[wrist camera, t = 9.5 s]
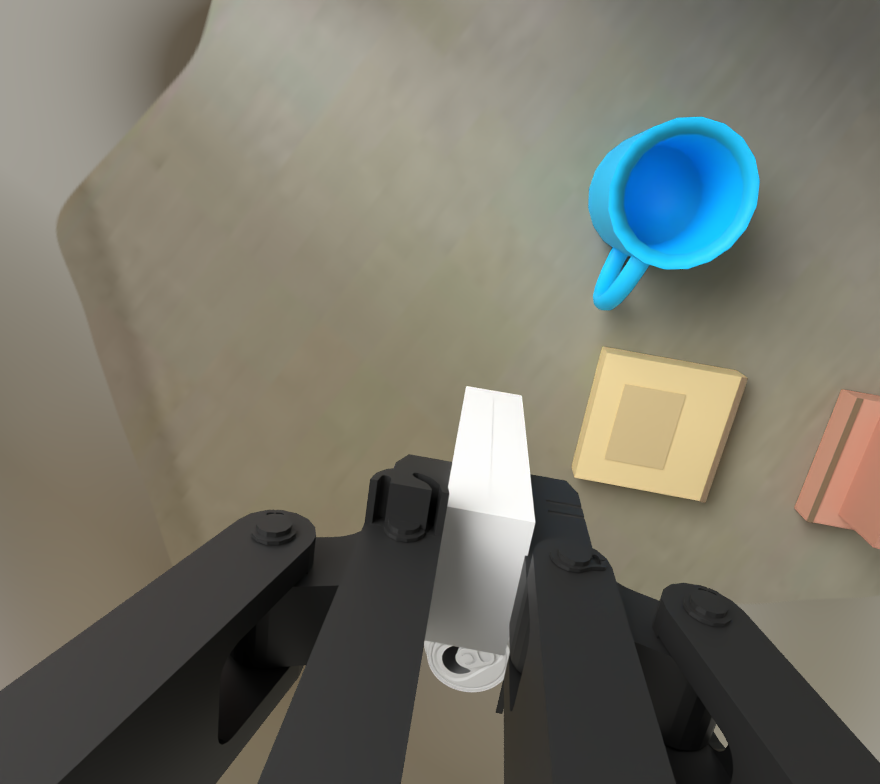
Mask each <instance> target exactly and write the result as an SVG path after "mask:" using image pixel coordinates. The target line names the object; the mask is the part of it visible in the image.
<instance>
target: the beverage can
mask: <svg viewBox="0 0 880 784" xmlns="http://www.w3.org/2000/svg"><path fill="white" fill-rule="evenodd" d="M424 647H425V651H426V655H427V657H428V663H429V666H430V669H431V670H432V672H433V674H434V675H435V676H436V677H437V678H438V679H439V680H440V681H441V682H442V683H444V684H445V685H447V686H449V687H451V688H454V689H456V690H460V691H464V692H479V691H484V690H488V689H490V688H493V687H495V686H496V685H498V684H499V683H500V682H501V681H503V679H504V675H505V670H506V666H507V662H508V658H509V653H510V643H509V638H508V643H507V647H506V651H505V656H503V655H497V654H492V653H487V652H482V651H477V650H472V649H466V648H461V647H456V646H451V645H446V644H441V643H435V642H430V641H424Z"/></svg>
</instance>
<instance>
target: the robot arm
mask: <svg viewBox="0 0 880 784" xmlns="http://www.w3.org/2000/svg"><path fill="white" fill-rule="evenodd" d="M508 638H509V643H510V653H509V658H508V662H507V666H506V670H505V675H504V679H503V683H502V688H501V692H500V697H499V700H498V705H497V709H496V713H500V714H502V712H503V709H504V784H880V763H879V761H878V760H877V759H876V758H875V757H874V756H873V755H872V754H871V752H870V751H869V750H868V749H867V748H866V747H865V746H864V745H863V744H862V743H861V742H860V740H859V739H858V738H857V737H856V736H855V735H854V733H853V732H852V731H851V730H850V729H849V728H848V727H847V726H846V725H845V723H844V722H843V721H842V720H841V719H840V718H839V717H838V716H837V715H836V713H835V712H834V711H833V710H832V709H831V708H830V707H829V706H828V705H827V703H826V702H825V701H824V700H823V699H822V698H821V697H820V696H819V694H818V693H817V692H816V691H815V690H814V689H813V688H812V687H811V686H810V684H809V683H808V682H807V681H806V680H805V679H804V678H803V677H802V676H801V674H800V673H799V672H798V671H797V670H796V669H795V668H794V667H793V665H792V664H791V663H790V662H789V661H788V660H787V659H786V658H785V657H784V655H783V654H782V653H781V652H780V651H779V650H778V649H777V648H776V647H775V645H774V644H773V643H772V642H771V641H770V640H769V639H768V638H767V637H766V635H765V634H764V633H763V632H762V631H761V630H760V629H759V628H758V626H757V625H756V624H755V623H754V622H753V621H752V620H751V619H750V617H749V616H748V615H747V614H746V613H745V612H744V611H743V610H742V609H741V608H739V607H738V606H737V605H736V604H735V603H734V602H733V601H731V600H730V599H728V598H726V597H724V596H723V595H721V594H719V593H718V592H717V591H715V590H712V589H710V588H709V589H707V587H704V586H700V585H693V584H687V583H679V584H671V585H669V586H668V587H666V588H665V589H663V592H662V595H661V598H660V601H658V600H656V599H653V598H650V597H648V596H645V595H643V594H640V593H637V592H635V591H633V590H631V589H628V588H626V587H624V586H622V585H621V584H619V583H617V582H616V579H615V576H614V573H613V569H612V567H611V565H610V564H609V562H608V560H607V559H606V558H605V557H604V556H603V555H601V554H600V553H599V552H598V551H597V550H595V549H593V548H592V545H591V541H590V537H589V534H588V530H587V526H586V522H585V519H584V514H583V511H582V509H581V503H580V499H579V495H578V493H577V492H576V491H575V490H574V489H573V488H572V487H571V486H570V485H569V484H568V483H567V482H566V481H564V480H559V479H553V478H547V477H542V476H536V475H531V474H530V468H529V459H528V450H527V440H526V431H525V422H524V412H523V403H522V396H521V395H515V394H509V393H503V392H498V391H492V390H486V389H480V388H475V387H469V386H466V391H465V396H464V402H463V407H462V413H461V418H460V424H459V429H458V435H457V440H456V446H455V451H454V457H453V462H449V461H443V460H438V459H432V458H427V457H421V456H415V455H410V454H409V455H407V456H406V457H404V458H402V459H401V460H399V461H398V462H396V464H395V467H394V468H392V469H386V470H383V471H380V472H378V473H376V474H375V475H374V476H373V477H372V478H371V479H370V485H369V493H368V501H367V509H366V517H365V523H364V526H363V528H362V531H360V532H358V533H355V534H352V535H347V536H341V537H316V532H315V527H314V525H313V524H312V523H311V522H310V521H309V520H308V519H307V518H305V517H303V516H301V515H299V514H297V513H292V512H287V511H284V510H265V511H261V512H256V513H251V514H249V515H247V516H245V517H243V518H241V519H239V520H237V521H236V522H235V523H233V524H232V525H230V526H229V527H228V528H226V529H225V530H223V531H222V532H221V533H219V534H218V535H216V536H215V537H214V538H212V539H211V540H210V541H208V542H207V543H205V544H204V545H203V546H201V547H200V548H198V549H197V550H196V551H194V552H193V553H191V554H190V555H189V556H187V557H186V558H184V559H183V560H182V561H180V562H179V563H178V564H176V565H175V566H173V567H172V568H171V569H169V570H168V571H166V572H165V573H164V574H162V575H161V576H159V577H158V578H157V579H155V580H154V581H152V582H151V583H150V584H148V585H147V586H146V587H144V588H143V589H141V590H140V591H139V592H137V593H136V594H134V595H133V596H132V597H130V598H129V599H127V600H126V601H125V602H123V603H122V604H120V605H119V606H118V607H116V608H115V609H114V610H112V611H111V612H109V613H108V614H107V615H105V616H104V617H103V618H101V619H100V620H98V621H97V622H96V623H94V624H93V625H91V626H90V627H89V628H87V629H86V630H84V631H83V632H82V633H80V634H79V635H77V636H76V637H75V638H73V639H72V640H70V641H69V642H68V643H66V644H65V645H64V646H62V647H61V648H59V649H58V650H57V651H55V652H54V653H52V654H51V655H50V656H48V657H47V658H46V659H44V660H43V661H41V662H40V663H39V664H37V665H36V666H34V667H33V668H31V669H30V670H29V671H27V672H26V673H25V674H23V675H22V676H20V677H19V678H18V679H16V680H15V681H13V682H12V683H11V684H10V685H8V686H6V687H5V688H4V689H2V690H1V691H0V784H216V783H217V781H218V780H219V779H220V777H221V776H222V775H223V774H224V772H225V771H226V770H227V769H228V767H229V766H230V764H231V763H232V762H233V761H234V760H235V758H236V757H237V756H238V754H239V753H240V752H241V751H242V749H243V748H244V747H245V745H246V744H247V743H248V741H249V740H250V739H251V738H252V736H253V735H254V734H255V733H256V731H257V730H258V729H259V727H260V726H261V724H263V722H264V721H265V720H266V718H267V717H268V716H269V715H270V713H271V712H272V711H273V709H274V708H275V707H276V706H277V704H278V703H279V702H280V700H281V699H282V698H283V697H284V695H285V694H286V693H287V691H288V690H289V689H290V688H291V686H292V685H293V684H294V682H295V681H296V680H297V679H298V677H299V675H300V673H301V671H302V668H303V665H306V667H305V669H304V672H303V674H302V677H301V679H300V681H299V684H298V686H297V689H296V691H295V694H294V696H293V698H292V701H291V703H290V706H289V708H288V711H287V713H286V716H285V718H284V721H283V723H282V725H281V728H280V730H279V733H278V735H277V737H276V740H275V742H274V745H273V747H272V750H271V752H270V754H269V757H268V760H267V762H266V764H265V767H264V769H263V771H262V774H261V777H260V779H259V781H258V784H401V778H402V773H403V767H404V761H405V755H406V749H407V743H408V737H409V731H410V724H411V719H412V712H413V707H414V701H415V694H416V689H417V683H418V677H419V671H420V665H421V659H422V653H423V647H424V641H430V642H435V643H441V644H446V645H451V646H456V647H461V648H466V649H472V650H477V651H482V652H487V653H492V654H497V655H503V656H505V651H506V647H507V643H508ZM716 724H717V725H718V727H719V728H720V730H721V731H722V733H723V734H724V736H725V738H726V740H727V742H728V746H727V747H726V748H725V747H724V746H723V745H722V744H721V742H720V741H719V740H718V738H717V736H716V735H715V733H714V732H713V731H714V728H715V726H716Z"/></svg>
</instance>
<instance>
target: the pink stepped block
mask: <svg viewBox="0 0 880 784" xmlns="http://www.w3.org/2000/svg"><path fill="white" fill-rule="evenodd" d="M794 508H795V509H796V510H797V511H798V513H799V514H800V515H801V516H802V517H803V518H804V519H805V520H806V521H807V522H811V523H813V522H814V523H820V524H825V525H830V526H836V527H841V528H846V529H852V530H855V531H856V532H857V533H859V534H860V535H861V536H862V537H863V538H864V539H865V540H866V541H867V542H868V543H869V544H870V545H871V546H872V547H873V548H878V549H880V396H877V395H872V394H866V393H861V392H855V391H849V390H844V389H841V392H840V394H839V397H838V399H837V402H836V404H835V407H834V409H833V412H832V415H831V417H830V420H829V422H828V425H827V427H826V430H825V432H824V435H823V437H822V440H821V442H820V445H819V447H818V450H817V452H816V455H815V457H814V460H813V462H812V465H811V467H810V470H809V472H808V475H807V477H806V480H805V482H804V485H803V487H802V490H801V492H800V495H799V497H798V500H797V502H796V505H795V507H794Z"/></svg>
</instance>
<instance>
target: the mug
mask: <svg viewBox="0 0 880 784" xmlns="http://www.w3.org/2000/svg"><path fill="white" fill-rule="evenodd" d="M759 183H760V180H759V175H758V170H757V165H756V160H755V157H754V155H753V154H752V152H751V150H750V149H749V147H748V145H747V144H746V142H745V140H744V139H743V138H742V137H741V136H740V135H739V134H737V133H736V132H735V131H733V130H732V129H731V128H730V127H728V126H727V125H726V124H724V123H721V122H717V121H714V120H711V119H708V118H704V117H685V118H676V119H673V120H670V121H668V122H665V123H662V124H660V125H657V126H654V127H652V128H650V129H648V130H646V131H644V132H641V133H639V134H637V135H635V136H633V137H631V138H629V139H626V140H624V141H623V142H622V143H620V144H619V145H618V146H616V147H615V148H614V149H613V150H611V151H610V152H609V153H608V154H607V155H606V156H605V158H604V159H603V161H602V162H601V163H600V165H599V166H598V167H597V169H596V171H595V174H594V176H593V179H592V182H591V185H590V188H589V205H588V208H589V212H590V216H591V219H592V223H593V226H594V228H595V229H596V231H597V232H598V233H599V235H600V236H601V238H602V239H603V241H605V242H606V243H607V244H609V245H610V246H611V247H613V248H612V250H611V251H610V253H609V255H608V257H607V260H606V262H605V264H604V266H603V268H602V270H601V273H600V275H599V278H598V281H597V283H596V286H595V290H594V294H593V300H594V304H595V306H596V307H597V308H598V309H600V310H612V309H614V308H615V307H617V306H618V305H619V304H620V303H622V301H623V300H624V299H625V298H626V297H627V296H628V295H629V293H630V292H631V291H632V290H633V288H634V287H635V286H636V284H637V283H638V281H639V280H640V279H641V277H642V276H643V275H644V273H645V271H646V270H647V268H648V267H649V265H652V266H656V267H659V268H662V269H689V268H692V267H695V266H698V265H701V264H704V263H707V262H710V261H712V260H713V259H715V258H716V257H717V256H719V255H720V254H722V253H723V252H725V251H726V250H728V249H729V248H731V246H732V245H733V244H734V243H735V242H736V240H737V239H738V238H739V237H740V236H741V235H742V233H743V232H744V231H745V230H746V229H747V226H748V224H749V222H750V220H751V217H752V215H753V213H754V211H755V208H756V206H757V200H758V191H759ZM628 256H630V259H629V261H628V262H627V264H626V265H625V267H624V268H623V270H622V271H621V269H622V266H623V264H624V262H625V260H626V259H627V257H628ZM620 271H621V273H620ZM619 273H620V274H619ZM618 275H619V276H618Z"/></svg>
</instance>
